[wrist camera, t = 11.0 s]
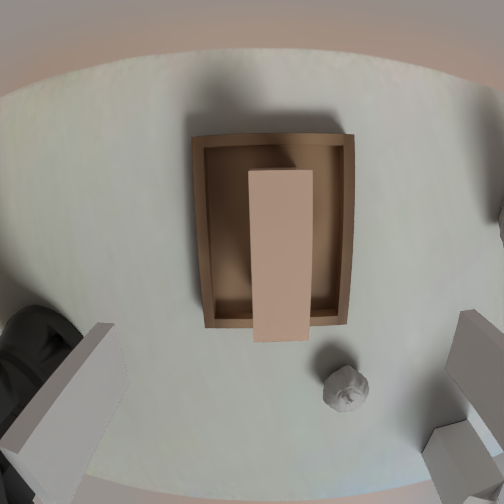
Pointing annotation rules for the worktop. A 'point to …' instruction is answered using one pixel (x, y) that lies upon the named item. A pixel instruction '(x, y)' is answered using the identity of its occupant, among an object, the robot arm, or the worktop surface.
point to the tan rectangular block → (281, 252)
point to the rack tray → (238, 219)
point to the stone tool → (501, 224)
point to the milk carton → (462, 466)
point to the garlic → (345, 389)
